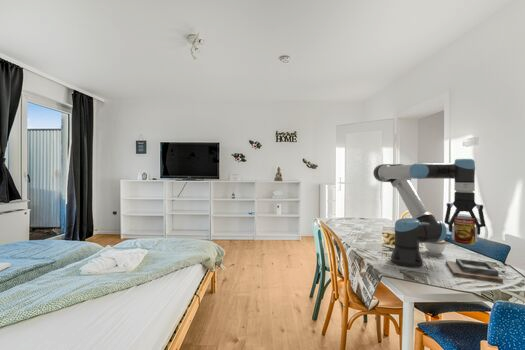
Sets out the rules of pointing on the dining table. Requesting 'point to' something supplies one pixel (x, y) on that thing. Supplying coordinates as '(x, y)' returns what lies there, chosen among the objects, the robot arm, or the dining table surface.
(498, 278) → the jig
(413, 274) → the dining table surface
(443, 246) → the lidded jar
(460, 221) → the canned food
